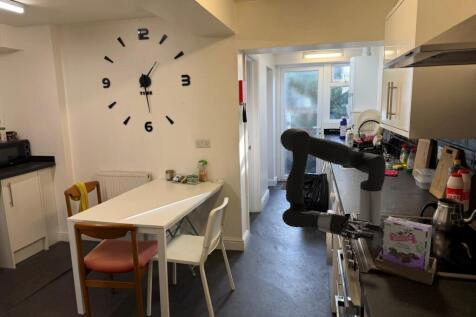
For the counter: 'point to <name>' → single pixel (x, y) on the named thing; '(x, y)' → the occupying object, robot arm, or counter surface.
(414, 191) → the counter surface
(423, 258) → the candy box
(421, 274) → the crate
